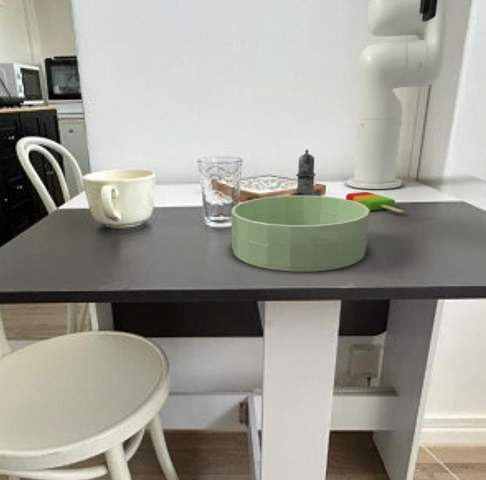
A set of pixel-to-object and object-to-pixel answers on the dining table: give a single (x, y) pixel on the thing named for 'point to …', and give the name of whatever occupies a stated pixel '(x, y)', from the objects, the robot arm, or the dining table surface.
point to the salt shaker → (306, 176)
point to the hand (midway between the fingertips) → (466, 17)
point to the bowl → (300, 232)
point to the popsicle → (373, 201)
